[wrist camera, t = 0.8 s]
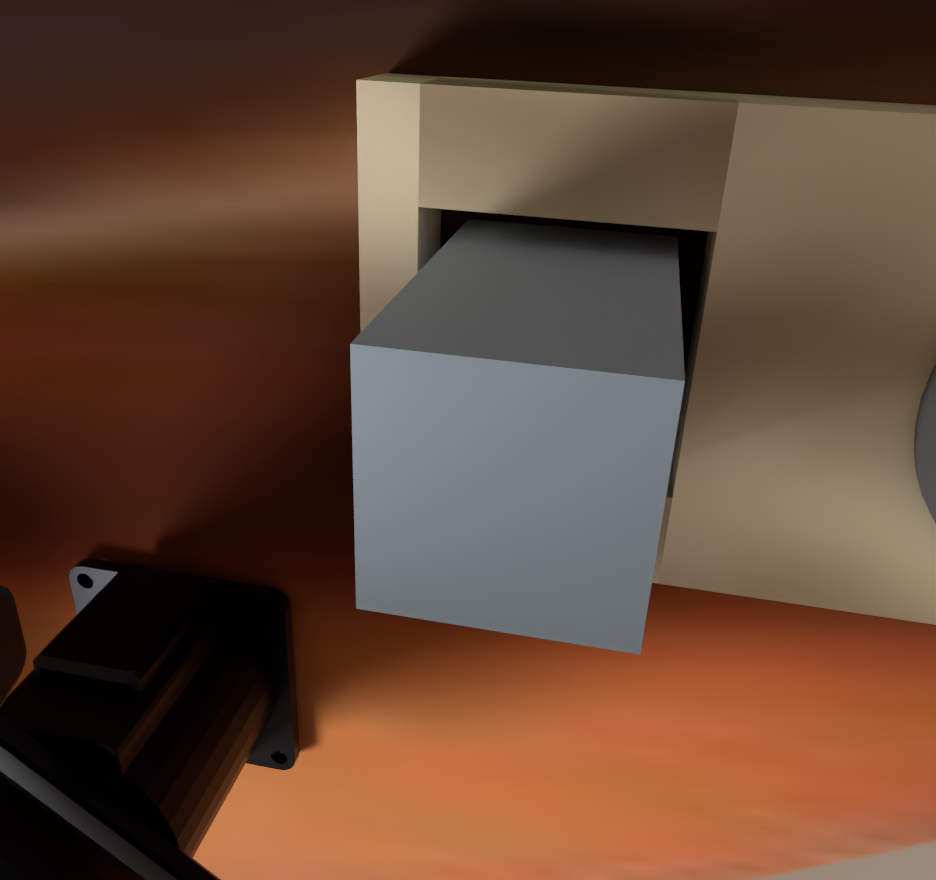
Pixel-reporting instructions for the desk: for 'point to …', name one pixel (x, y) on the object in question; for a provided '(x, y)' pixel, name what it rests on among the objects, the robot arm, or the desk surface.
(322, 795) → the desk surface
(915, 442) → the coaster
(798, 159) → the board
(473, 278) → the block
